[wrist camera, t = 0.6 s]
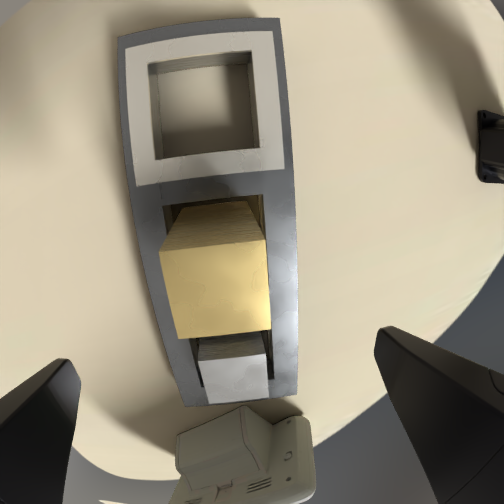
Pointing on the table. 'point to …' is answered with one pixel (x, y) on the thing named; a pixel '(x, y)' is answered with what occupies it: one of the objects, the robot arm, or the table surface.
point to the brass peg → (216, 271)
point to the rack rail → (214, 175)
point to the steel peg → (233, 367)
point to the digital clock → (245, 461)
